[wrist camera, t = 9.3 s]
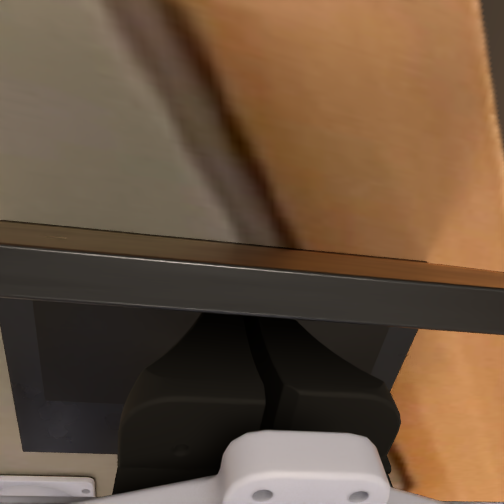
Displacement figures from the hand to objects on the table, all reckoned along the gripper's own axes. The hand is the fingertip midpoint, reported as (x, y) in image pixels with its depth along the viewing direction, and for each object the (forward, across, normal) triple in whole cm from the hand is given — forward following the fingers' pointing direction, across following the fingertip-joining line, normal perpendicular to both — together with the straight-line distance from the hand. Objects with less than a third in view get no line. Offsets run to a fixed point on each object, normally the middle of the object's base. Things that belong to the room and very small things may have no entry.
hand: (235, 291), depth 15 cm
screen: (-2, 0, -2) cm, 3 cm away
